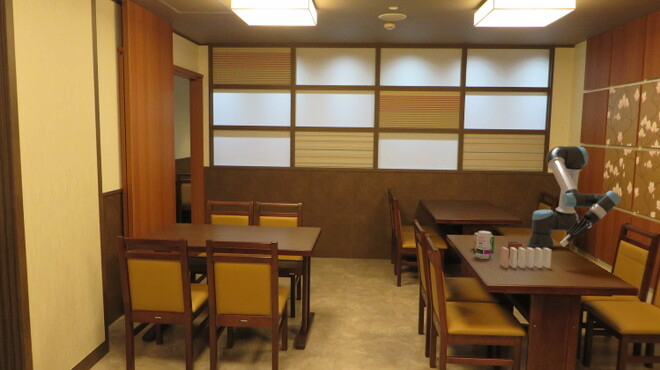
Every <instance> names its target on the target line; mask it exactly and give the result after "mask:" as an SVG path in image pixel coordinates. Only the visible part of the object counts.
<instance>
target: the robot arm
mask: <svg viewBox="0 0 660 370" xmlns="http://www.w3.org/2000/svg"><path fill="white" fill-rule="evenodd" d="M545 160H546V165H547V167H548V169H549V170H551V171H552V173H553V176H554V177H555V179H556V181H557V183H558V185H559V187H560V194H559V202H558V207H556V208H555V210H554V211H555V212H554V211H553V210H552V209H539V210H538V209H537V210H534V212H533V213H532V222H531V223H532V224H531V233H530V236H529V238H528V241H527V245H528V246H529V248H533V249H535V248H540V249H542V250H543V248H548V249H550V250H553V248H554V245H555V243H554V241H553V237H552V231H555V232H556V231H557V232H559V231H560V232H561V231H562V232H567V235H566V236H565V237H563V239H562V240H561V241H560V242H559V244H560V245H561V246H562V247H563V248H565V247H566V246H567V245H568V244H569V243H570V242H571V241H572V240H573V239H578V238H580V237H581V236H583V235H584V234H586V232H588V231H590V230H592V229H593V228H594V226H592V225H596V224H597V223H598V222H599V221H600V220H602V219H603V218H604V217H605V216H606V215H607V214H608V213H609V212H610V211H611V210H612V209H614V207H615V206H617V205H618V203H620V201H621V197H620V195H619V194H618V193H616V192H615V191H613V190H609V191H607V192H606V193H605V194H599V193H580V192H579V190H578V183H579V174H580V171H582V170H583V169H584V168H583V167H585V166H587V165H588V161H589V155H588V151H587V150H586V148H585V147H582V146H578V145H577V146H573V145H572V146H571V145H569V146H565V145H564V146H563V145H559V146H558V145H557V146H554V147H553V148H551V149H550V150H549V151H548V153H547V155H546V159H545ZM575 208H589V209H588V210H586V211H585V213H583V218H581V219H580V220H579V215H578V213H577V211H576V210H575Z"/></svg>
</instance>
